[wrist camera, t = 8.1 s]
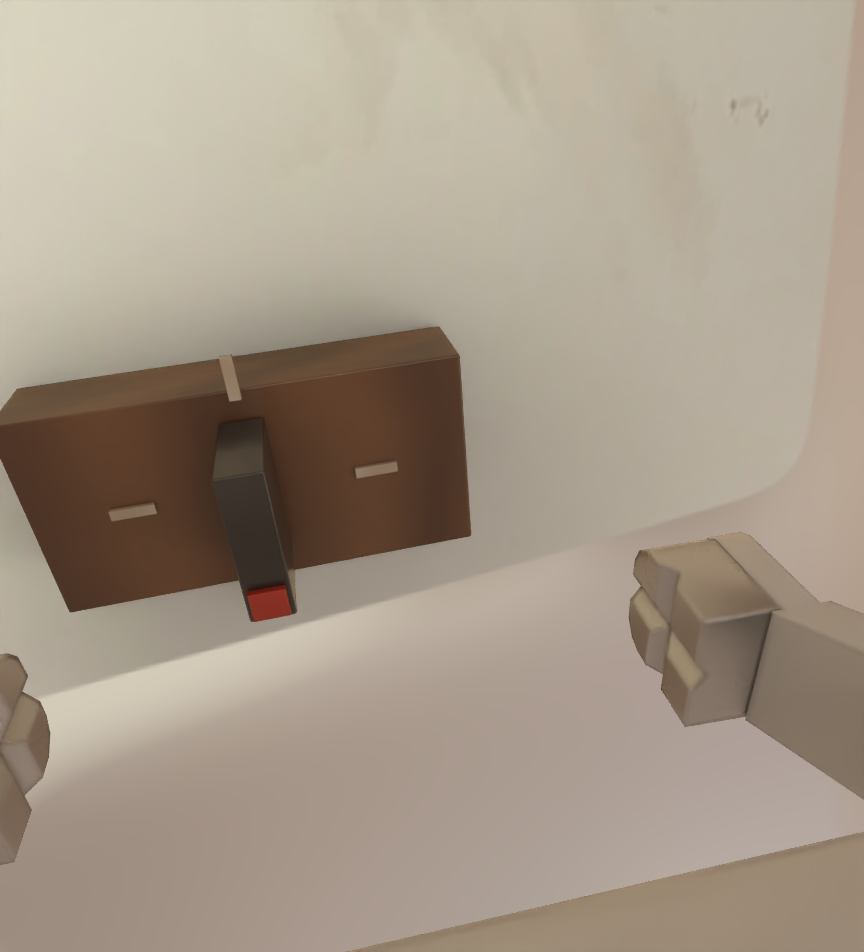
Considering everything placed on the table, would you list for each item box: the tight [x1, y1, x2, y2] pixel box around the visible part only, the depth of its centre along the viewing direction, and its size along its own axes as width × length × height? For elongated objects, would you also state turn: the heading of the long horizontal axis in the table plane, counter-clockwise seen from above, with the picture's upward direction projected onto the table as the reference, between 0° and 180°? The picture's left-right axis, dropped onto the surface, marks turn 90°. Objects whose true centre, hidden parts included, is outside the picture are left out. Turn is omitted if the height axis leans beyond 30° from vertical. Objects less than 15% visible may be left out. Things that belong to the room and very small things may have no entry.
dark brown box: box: [211, 418, 297, 622], centre depth 21 cm, size 5×1×4 cm, turn 4°
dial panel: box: [0, 327, 471, 612], centre depth 24 cm, size 14×9×3 cm, turn 95°
